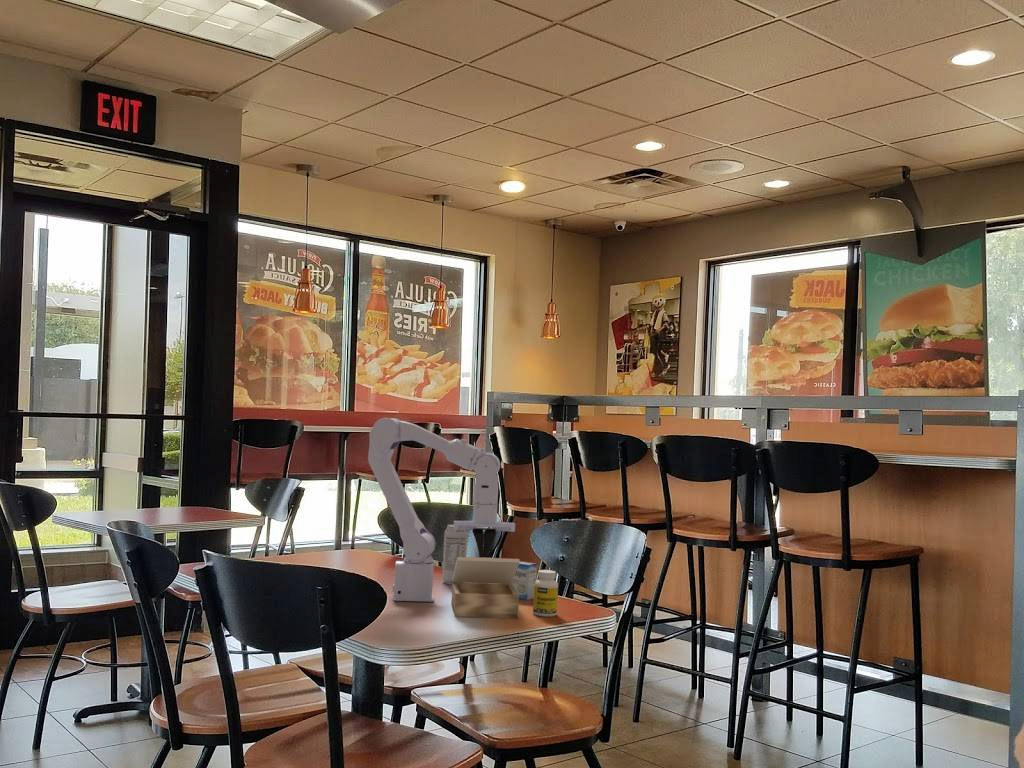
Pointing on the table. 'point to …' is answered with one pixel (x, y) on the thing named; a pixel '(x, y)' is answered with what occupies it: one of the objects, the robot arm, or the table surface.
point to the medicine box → (525, 580)
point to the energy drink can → (453, 551)
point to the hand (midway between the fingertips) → (482, 561)
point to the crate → (484, 600)
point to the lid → (485, 570)
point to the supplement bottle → (545, 594)
